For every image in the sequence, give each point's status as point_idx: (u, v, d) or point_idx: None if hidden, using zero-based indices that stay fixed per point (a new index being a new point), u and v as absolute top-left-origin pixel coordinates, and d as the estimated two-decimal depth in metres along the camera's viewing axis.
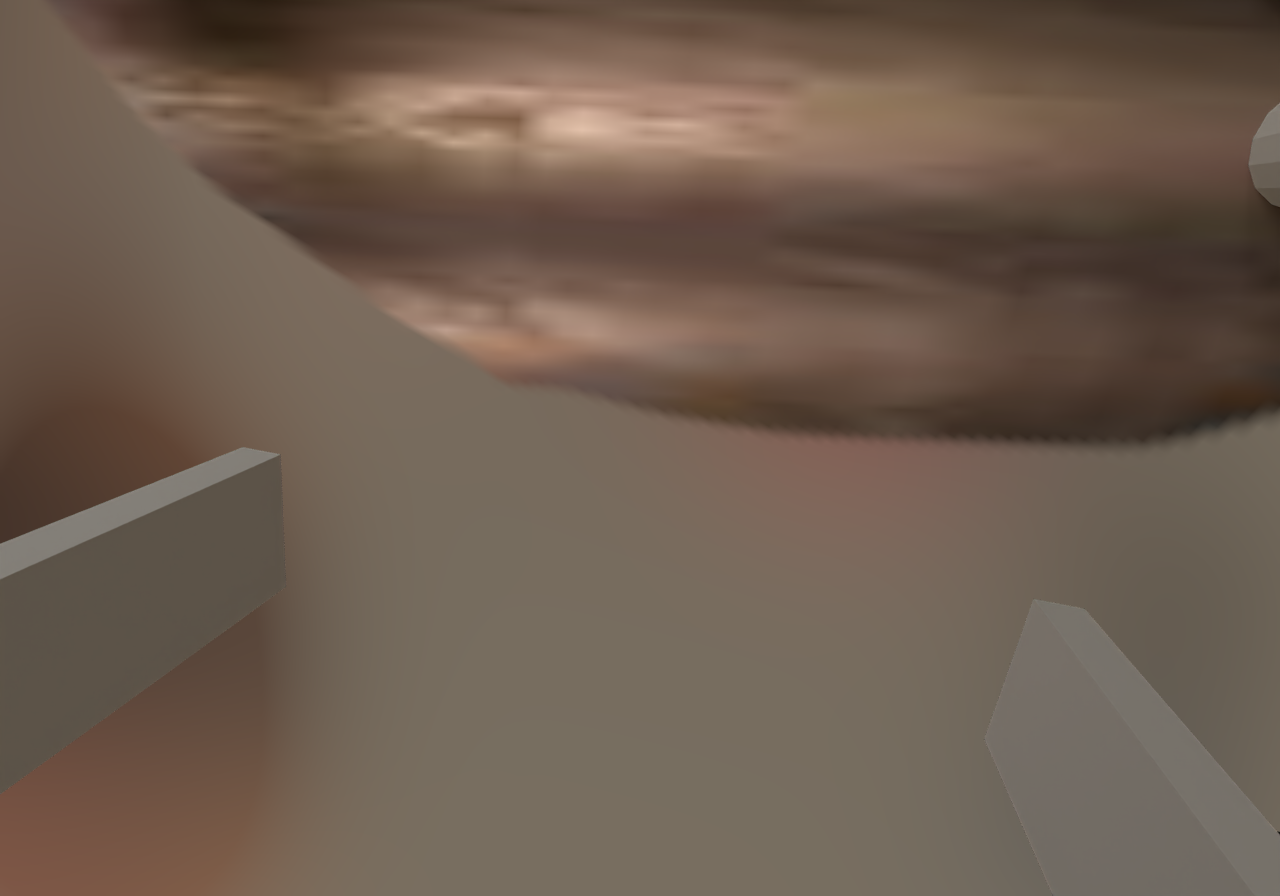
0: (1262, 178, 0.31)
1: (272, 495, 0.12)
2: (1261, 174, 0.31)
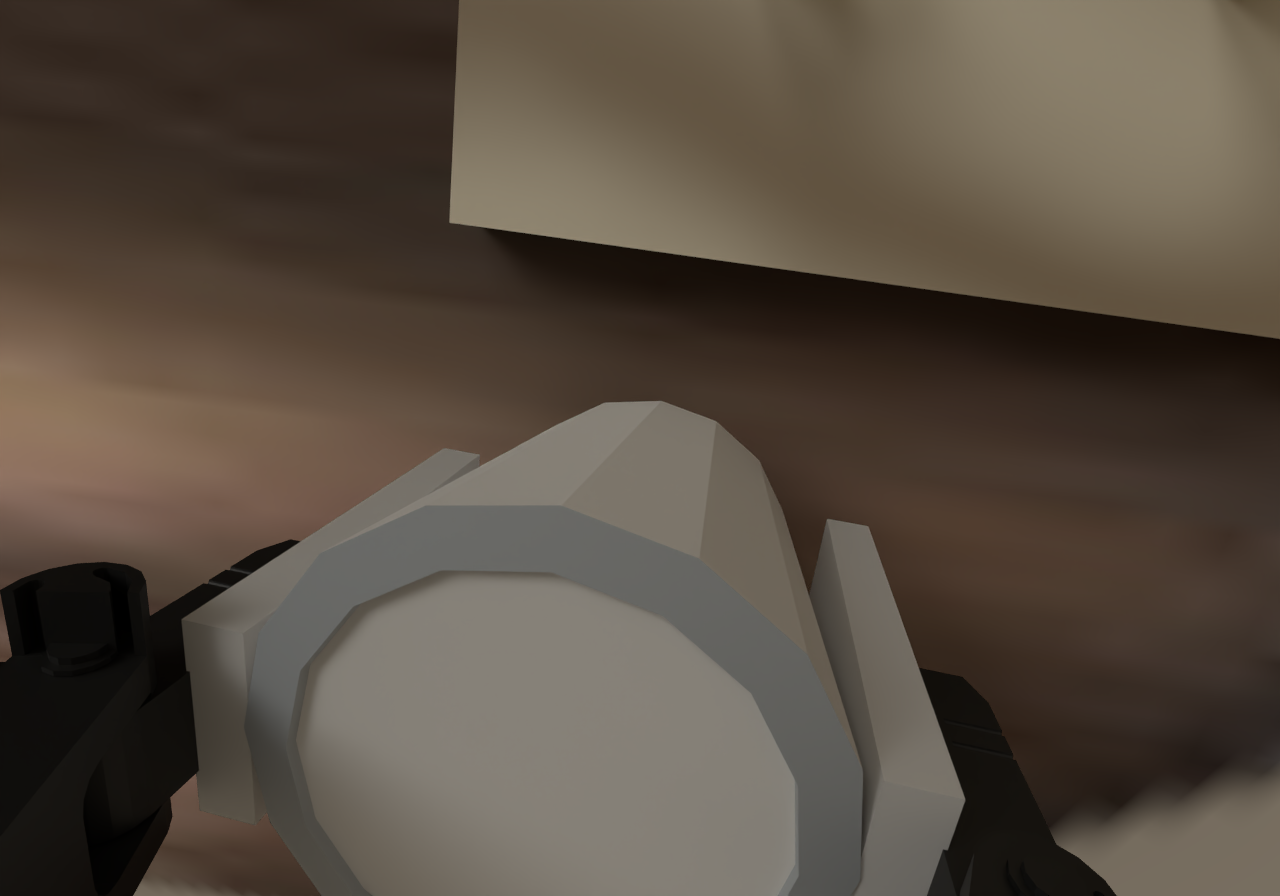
0: None
1: None
2: None
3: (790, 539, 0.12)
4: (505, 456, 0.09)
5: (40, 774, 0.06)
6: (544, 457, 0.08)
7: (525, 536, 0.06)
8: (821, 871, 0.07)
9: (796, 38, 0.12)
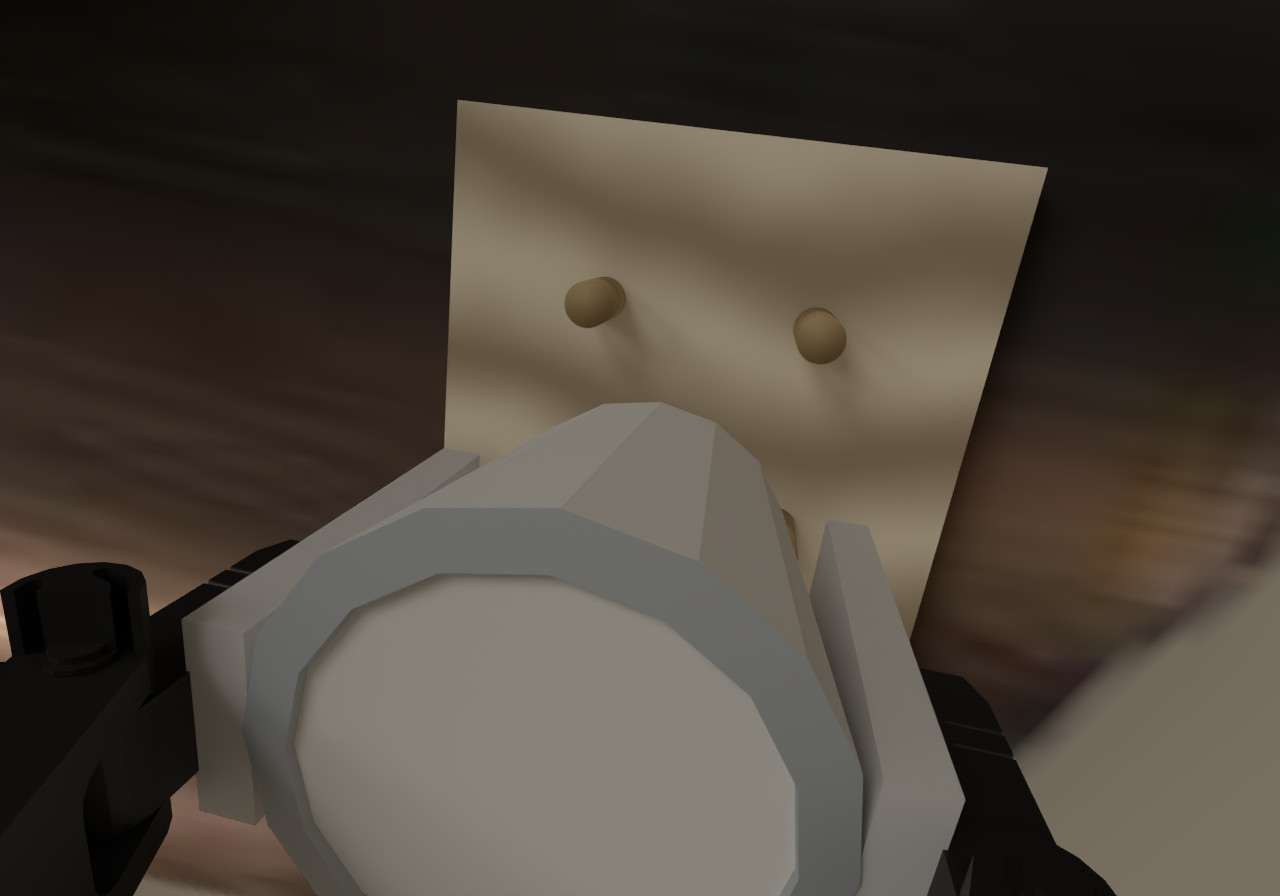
0: None
1: None
2: None
3: (790, 540, 0.11)
4: (504, 458, 0.09)
5: (41, 774, 0.06)
6: (543, 459, 0.08)
7: (523, 539, 0.06)
8: (821, 875, 0.07)
9: None
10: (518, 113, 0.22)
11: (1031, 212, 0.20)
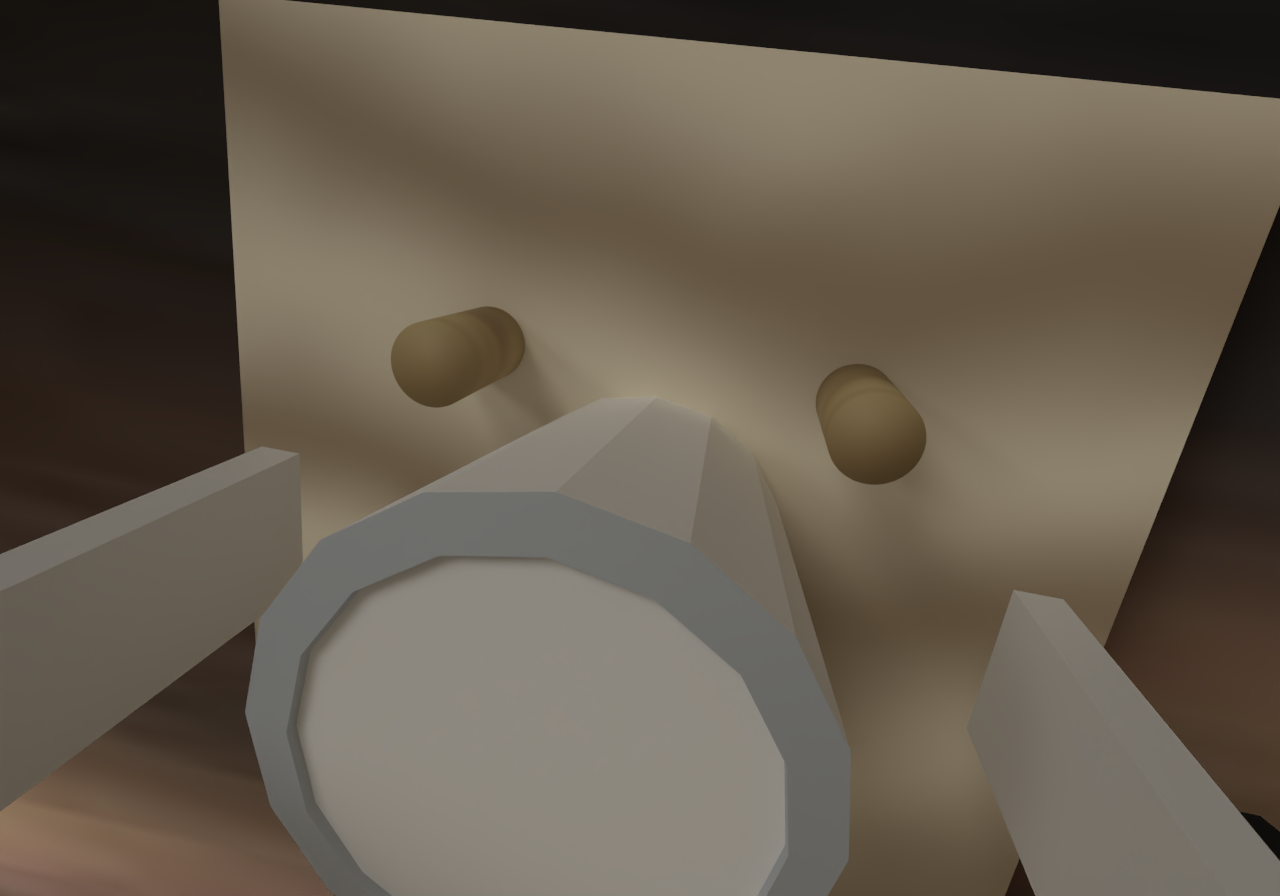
0: None
1: (290, 493, 0.12)
2: None
3: (784, 532, 0.12)
4: (502, 448, 0.10)
5: None
6: (540, 448, 0.09)
7: (520, 522, 0.06)
8: (810, 851, 0.07)
9: None
10: (323, 16, 0.12)
11: (1279, 191, 0.10)
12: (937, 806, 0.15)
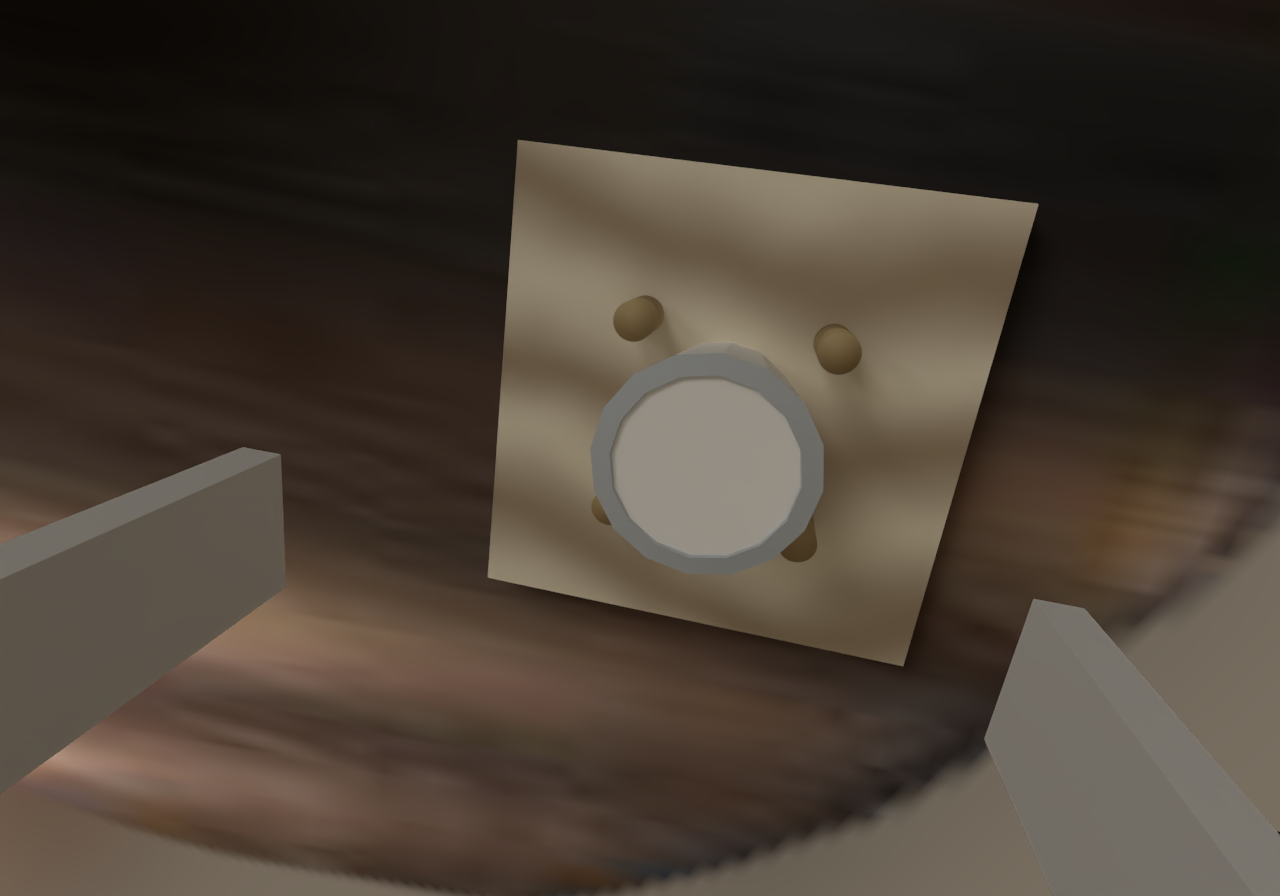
0: None
1: (271, 494, 0.12)
2: None
3: None
4: None
5: None
6: (700, 350, 0.21)
7: (710, 363, 0.19)
8: (809, 486, 0.19)
9: None
10: (571, 152, 0.25)
11: (1024, 242, 0.23)
12: (879, 567, 0.27)
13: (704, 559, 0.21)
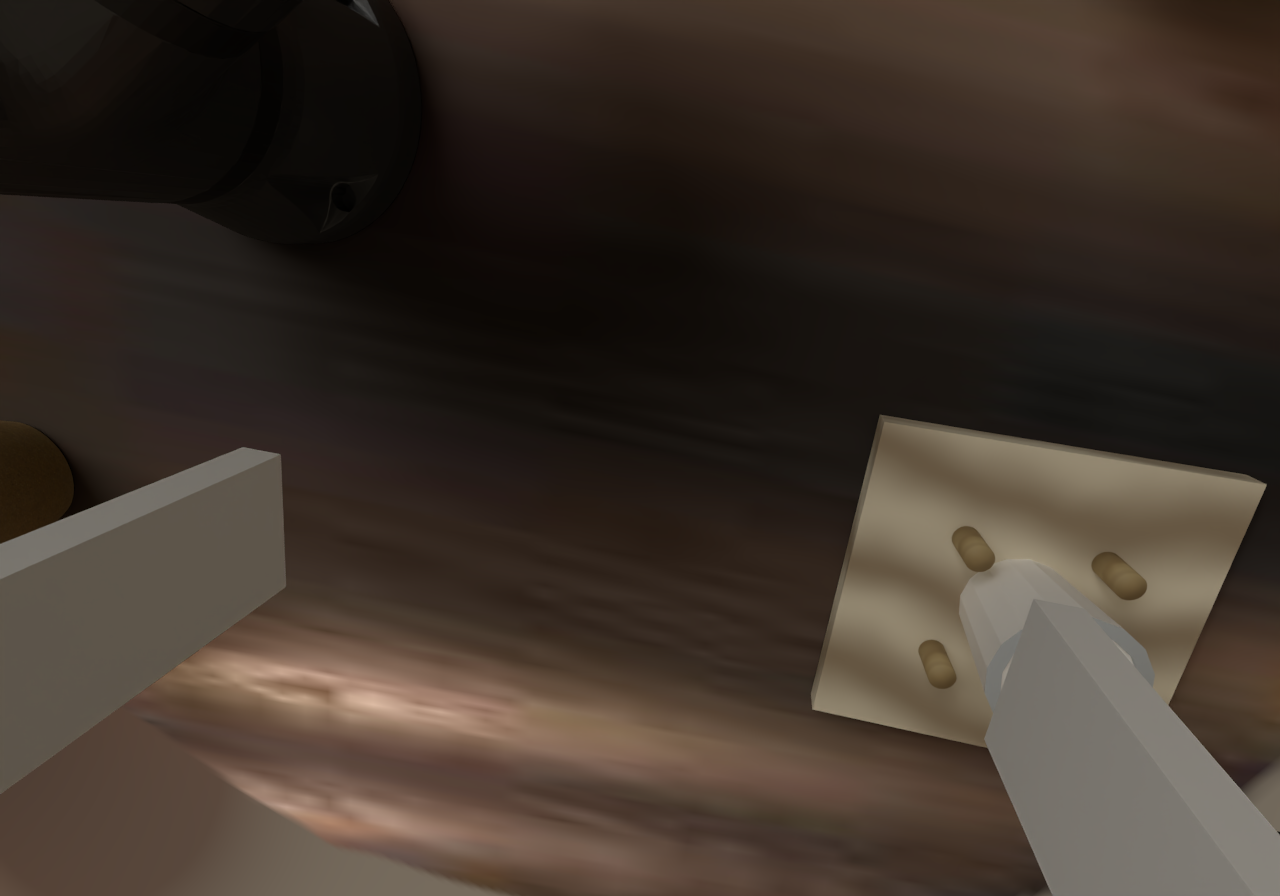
0: None
1: (271, 494, 0.12)
2: None
3: None
4: (1024, 592, 0.32)
5: None
6: (1051, 596, 0.31)
7: None
8: None
9: None
10: (924, 432, 0.35)
11: (1254, 508, 0.33)
12: None
13: None
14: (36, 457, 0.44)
